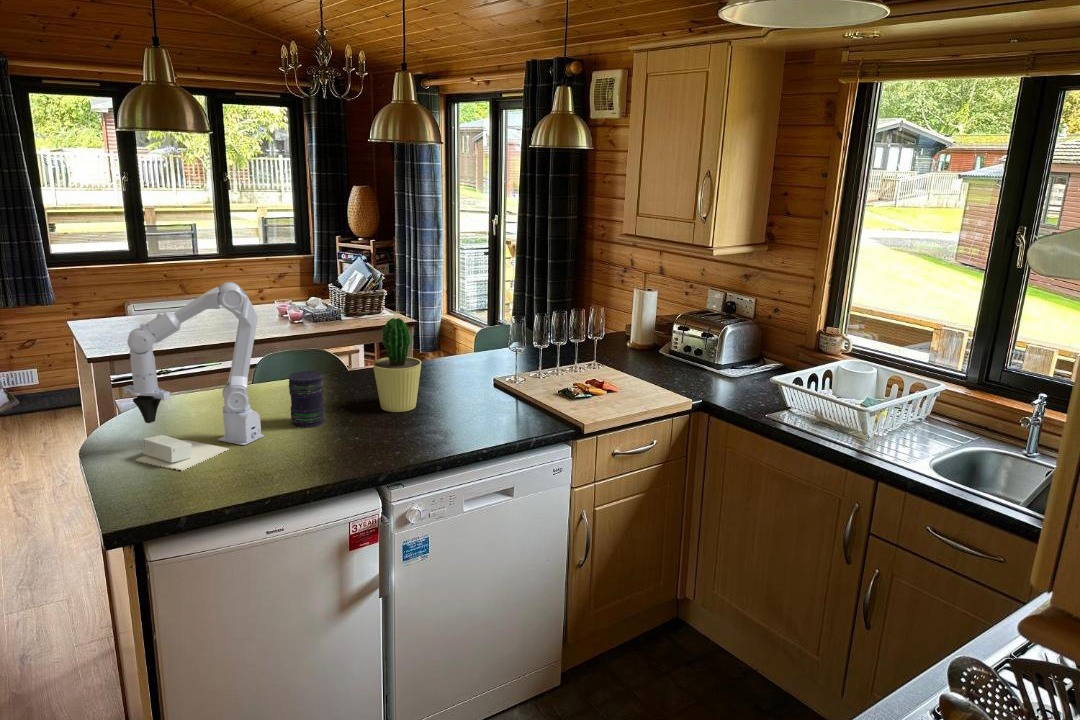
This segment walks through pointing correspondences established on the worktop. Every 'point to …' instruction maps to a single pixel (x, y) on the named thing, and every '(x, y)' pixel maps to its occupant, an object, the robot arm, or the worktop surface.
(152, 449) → the skincare box
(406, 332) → the potted cactus
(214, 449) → the mat
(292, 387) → the storage jar
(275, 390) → the worktop surface
